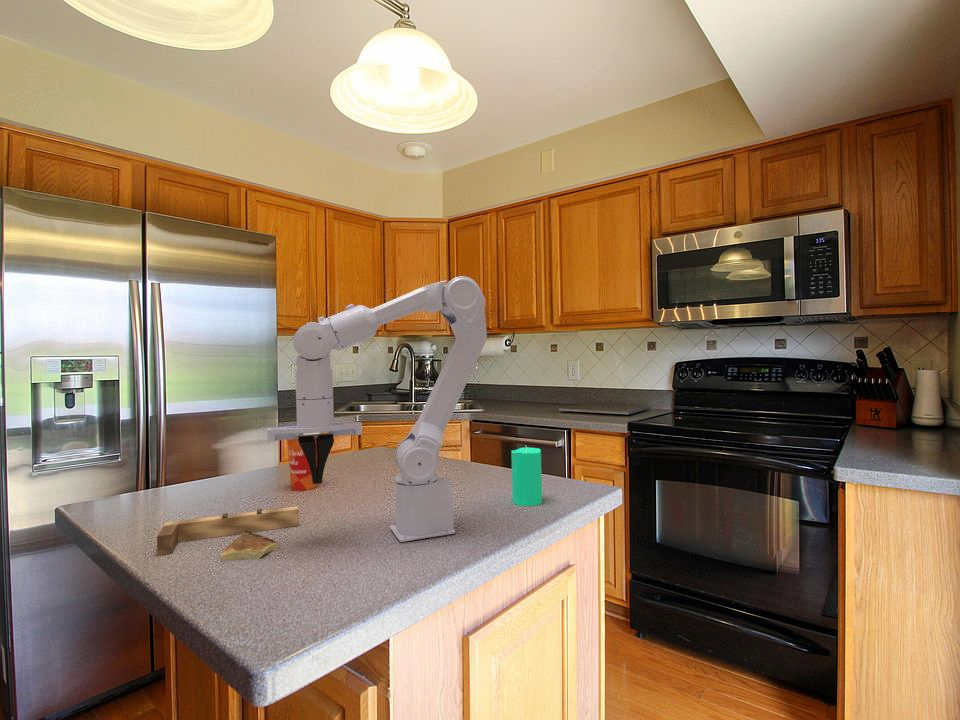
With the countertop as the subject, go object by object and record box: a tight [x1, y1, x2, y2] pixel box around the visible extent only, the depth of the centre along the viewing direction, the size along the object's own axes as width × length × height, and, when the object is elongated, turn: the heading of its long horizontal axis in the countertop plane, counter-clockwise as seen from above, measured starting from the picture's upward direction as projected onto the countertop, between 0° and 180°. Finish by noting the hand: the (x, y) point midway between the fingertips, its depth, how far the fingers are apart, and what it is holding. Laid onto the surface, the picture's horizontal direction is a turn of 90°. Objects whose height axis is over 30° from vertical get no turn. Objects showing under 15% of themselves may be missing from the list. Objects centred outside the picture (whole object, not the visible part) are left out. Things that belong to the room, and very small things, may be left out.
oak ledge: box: [156, 505, 300, 557], centre depth 87 cm, size 21×8×3 cm, turn 112°
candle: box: [511, 446, 543, 507], centre depth 104 cm, size 6×6×12 cm
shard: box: [220, 530, 280, 562], centre depth 83 cm, size 11×8×2 cm
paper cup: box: [286, 433, 320, 492], centre depth 121 cm, size 8×8×14 cm
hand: (317, 482), depth 84 cm, fingers closed
